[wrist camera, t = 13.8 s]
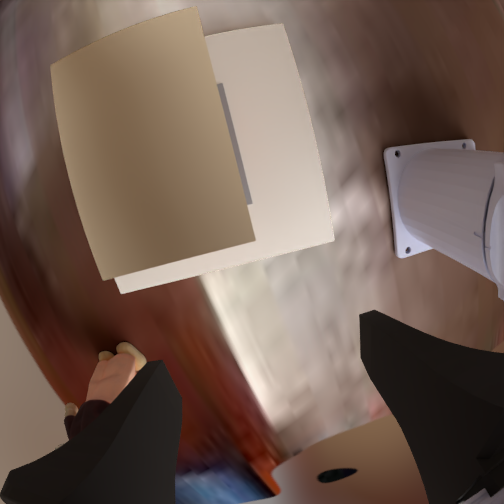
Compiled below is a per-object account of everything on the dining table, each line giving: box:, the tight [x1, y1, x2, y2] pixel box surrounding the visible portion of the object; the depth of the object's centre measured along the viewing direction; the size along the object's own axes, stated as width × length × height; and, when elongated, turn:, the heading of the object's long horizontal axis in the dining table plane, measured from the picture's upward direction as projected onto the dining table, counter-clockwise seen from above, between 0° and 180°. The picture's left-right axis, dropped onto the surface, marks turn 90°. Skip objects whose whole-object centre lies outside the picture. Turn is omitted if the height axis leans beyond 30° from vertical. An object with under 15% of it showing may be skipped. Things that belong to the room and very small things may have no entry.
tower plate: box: [115, 23, 335, 294], centre depth 16 cm, size 14×14×2 cm
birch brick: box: [50, 6, 256, 281], centre depth 8 cm, size 4×6×5 cm, turn 13°
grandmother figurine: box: [55, 342, 146, 450], centre depth 15 cm, size 8×4×13 cm, turn 126°
